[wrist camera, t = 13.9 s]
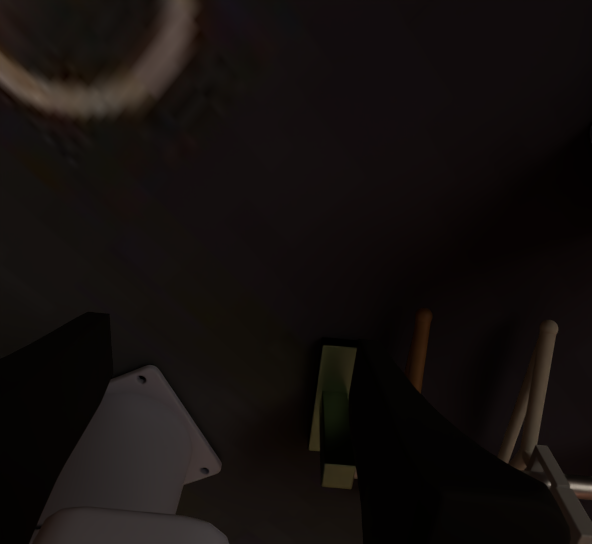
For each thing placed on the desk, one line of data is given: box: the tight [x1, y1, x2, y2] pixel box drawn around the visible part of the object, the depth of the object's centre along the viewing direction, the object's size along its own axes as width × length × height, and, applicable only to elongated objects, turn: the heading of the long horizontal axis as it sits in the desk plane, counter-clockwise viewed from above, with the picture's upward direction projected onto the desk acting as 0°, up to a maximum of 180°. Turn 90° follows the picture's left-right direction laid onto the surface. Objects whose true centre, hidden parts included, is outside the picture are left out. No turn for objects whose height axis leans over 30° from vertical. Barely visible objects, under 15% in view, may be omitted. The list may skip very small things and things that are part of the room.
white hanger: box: [497, 320, 592, 544], centre depth 24 cm, size 13×1×8 cm, turn 174°
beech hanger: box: [404, 308, 432, 394], centre depth 24 cm, size 13×1×8 cm, turn 174°
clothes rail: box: [308, 337, 592, 500], centre depth 26 cm, size 7×21×6 cm, turn 84°
